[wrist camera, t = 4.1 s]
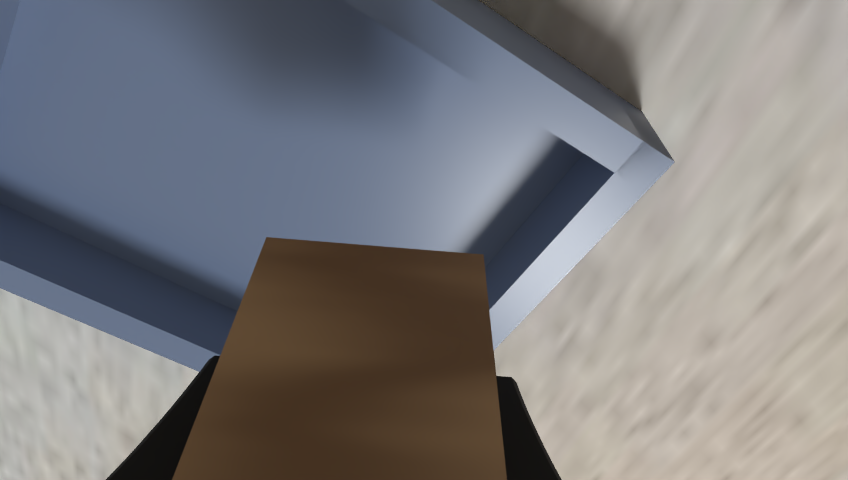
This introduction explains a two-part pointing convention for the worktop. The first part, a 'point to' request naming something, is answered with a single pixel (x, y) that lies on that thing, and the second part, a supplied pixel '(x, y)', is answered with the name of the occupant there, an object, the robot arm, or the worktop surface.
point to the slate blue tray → (292, 152)
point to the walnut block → (353, 370)
